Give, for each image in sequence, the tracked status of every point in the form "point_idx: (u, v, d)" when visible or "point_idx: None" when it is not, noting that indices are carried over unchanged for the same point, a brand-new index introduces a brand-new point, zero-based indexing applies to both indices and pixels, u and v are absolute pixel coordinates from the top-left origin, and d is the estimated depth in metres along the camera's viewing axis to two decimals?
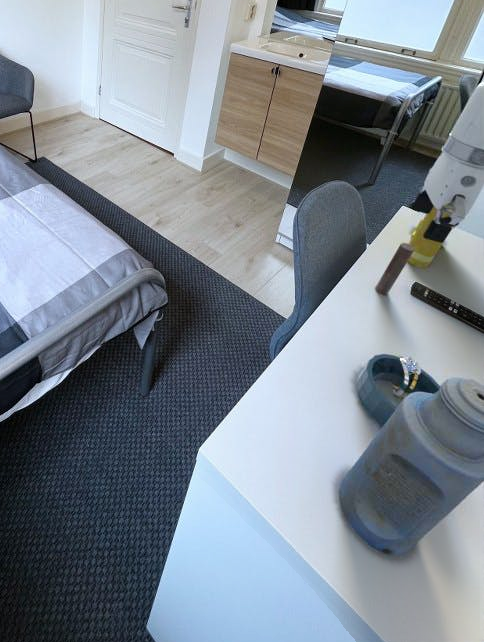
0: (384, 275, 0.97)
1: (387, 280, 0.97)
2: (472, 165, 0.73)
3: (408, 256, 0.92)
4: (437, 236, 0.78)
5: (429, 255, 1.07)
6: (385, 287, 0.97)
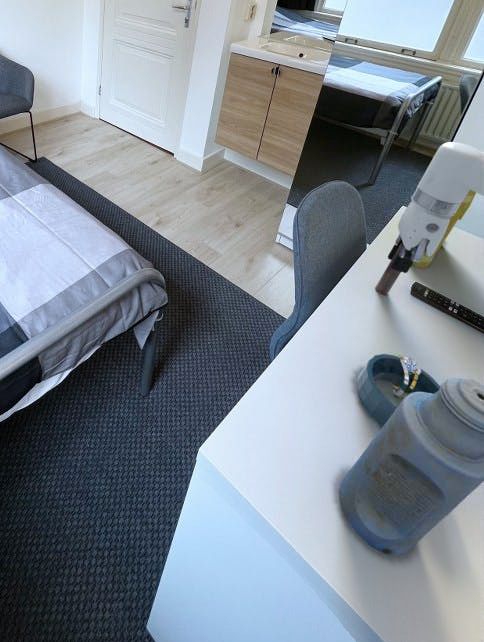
0: (384, 275, 0.97)
1: (387, 280, 0.97)
2: (435, 214, 0.84)
3: None
4: (401, 267, 0.93)
5: None
6: (385, 287, 0.97)
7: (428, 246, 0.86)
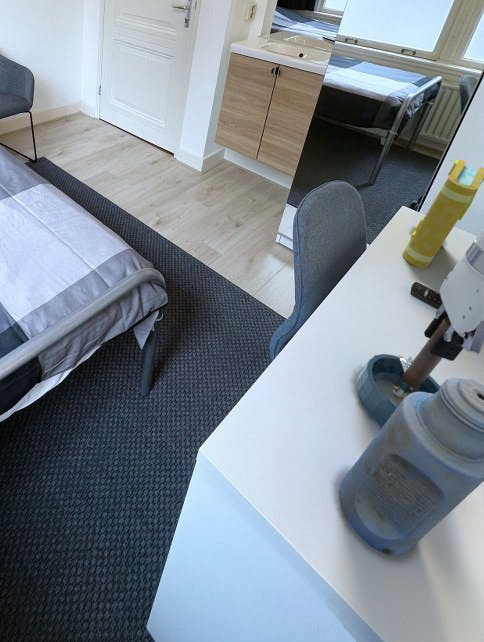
0: (418, 359, 0.70)
1: (424, 367, 0.69)
2: None
3: None
4: (446, 354, 0.65)
5: (429, 255, 1.07)
6: (420, 375, 0.70)
7: None
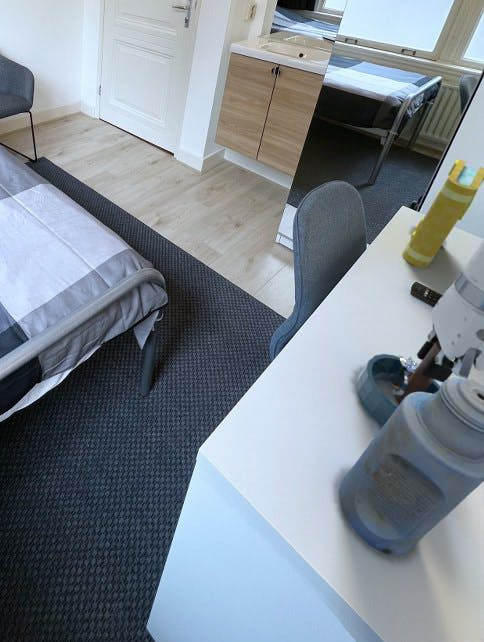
0: (412, 379, 0.73)
1: (417, 388, 0.72)
2: None
3: None
4: (438, 376, 0.68)
5: (429, 255, 1.07)
6: None
7: (479, 358, 0.62)
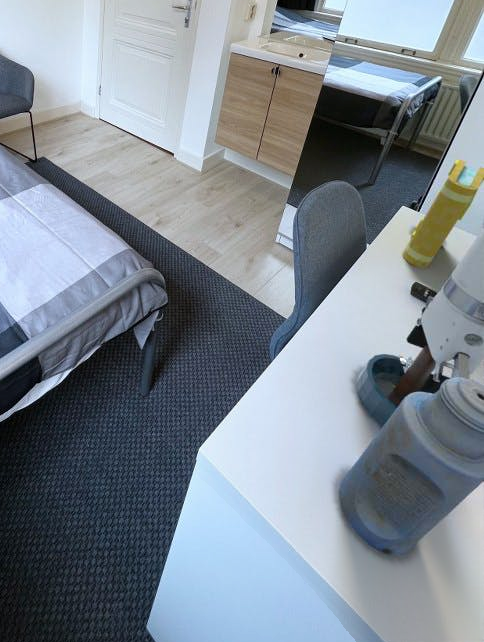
0: (400, 384, 0.73)
1: (405, 392, 0.72)
2: (478, 321, 0.60)
3: (434, 366, 0.68)
4: None
5: (429, 255, 1.07)
6: (402, 400, 0.73)
7: None
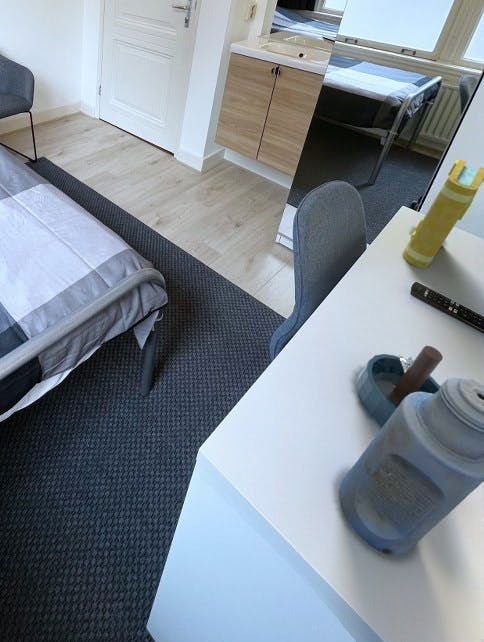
0: (400, 384, 0.73)
1: (405, 392, 0.72)
2: None
3: (434, 366, 0.68)
4: None
5: (429, 255, 1.07)
6: (402, 400, 0.73)
7: None
